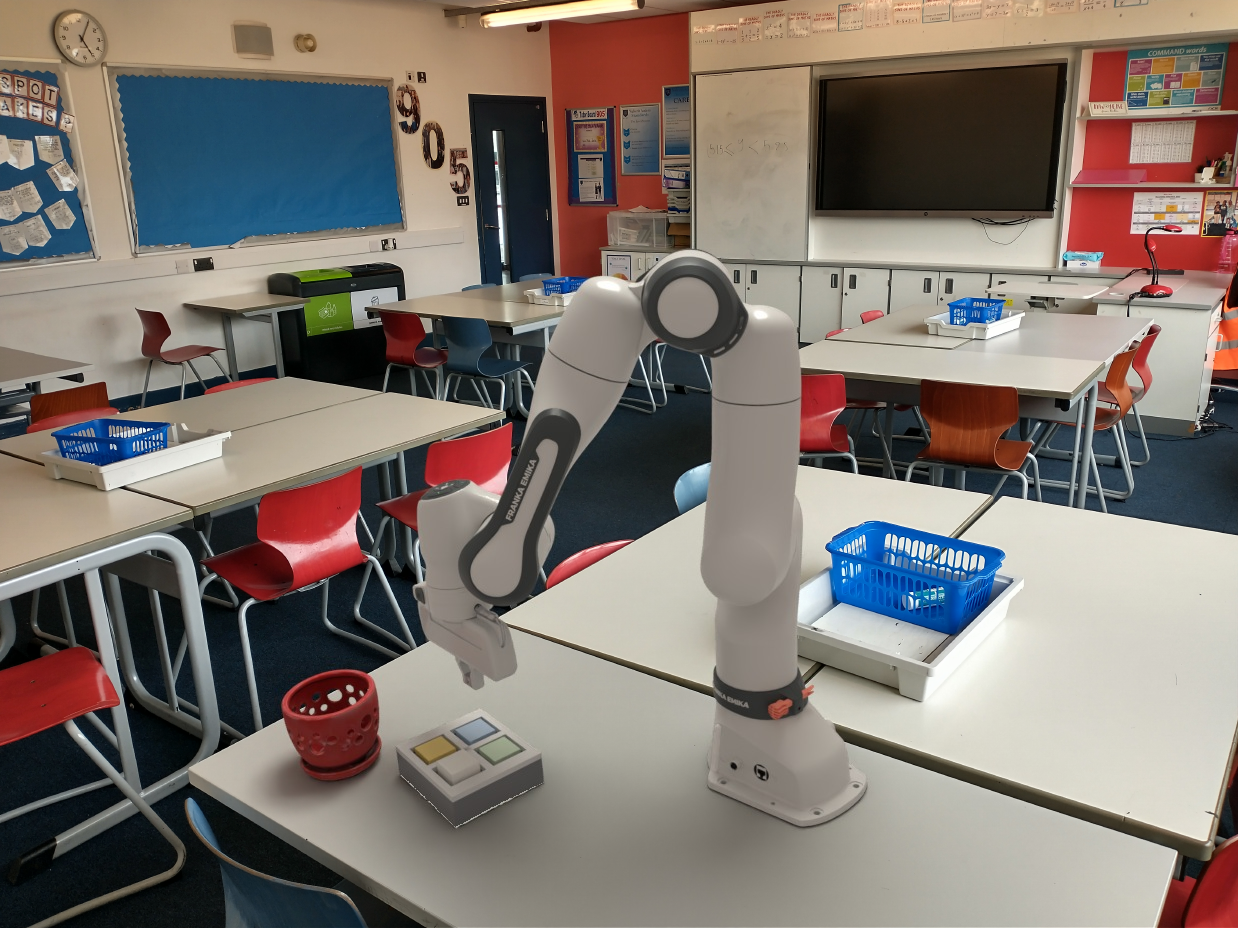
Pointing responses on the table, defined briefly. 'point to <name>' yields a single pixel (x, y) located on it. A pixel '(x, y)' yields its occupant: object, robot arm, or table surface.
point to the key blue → (474, 732)
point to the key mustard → (434, 750)
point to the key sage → (499, 751)
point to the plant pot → (334, 724)
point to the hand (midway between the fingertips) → (474, 685)
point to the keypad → (481, 787)
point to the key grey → (457, 767)
